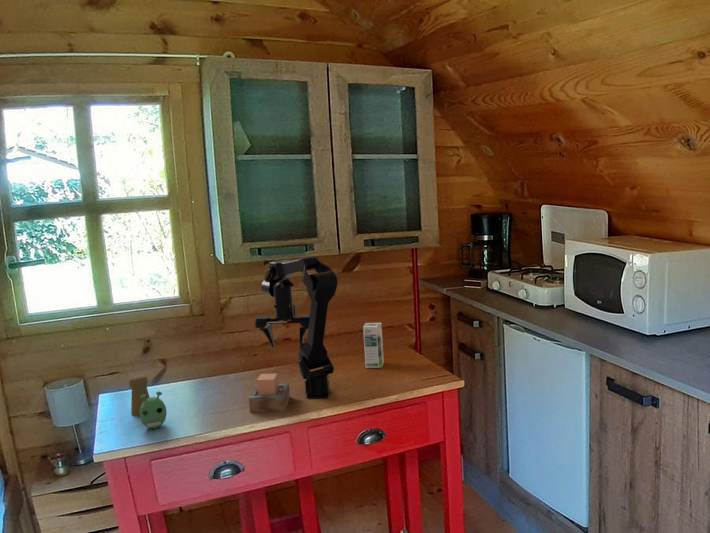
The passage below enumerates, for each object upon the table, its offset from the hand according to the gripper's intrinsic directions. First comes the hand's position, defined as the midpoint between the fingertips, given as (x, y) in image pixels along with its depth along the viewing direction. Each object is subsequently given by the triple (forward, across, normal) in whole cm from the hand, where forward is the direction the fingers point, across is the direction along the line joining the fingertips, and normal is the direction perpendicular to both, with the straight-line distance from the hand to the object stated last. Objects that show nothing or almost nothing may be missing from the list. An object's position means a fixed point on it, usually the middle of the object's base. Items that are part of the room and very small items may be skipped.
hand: (287, 346), depth 194 cm
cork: (+11, +39, +25) cm, 48 cm away
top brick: (+7, +1, +21) cm, 22 cm away
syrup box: (+11, -27, -11) cm, 31 cm away
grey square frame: (+11, +1, +21) cm, 24 cm away
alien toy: (+11, +30, +36) cm, 48 cm away
